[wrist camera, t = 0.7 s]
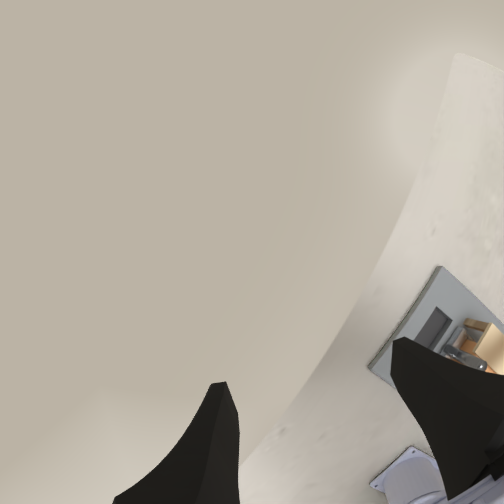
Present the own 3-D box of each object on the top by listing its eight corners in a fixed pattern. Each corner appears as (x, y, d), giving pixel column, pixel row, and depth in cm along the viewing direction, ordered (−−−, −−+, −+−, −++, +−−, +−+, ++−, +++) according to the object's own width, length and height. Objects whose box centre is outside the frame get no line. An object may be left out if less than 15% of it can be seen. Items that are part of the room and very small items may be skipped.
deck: (523, 351, 24) (529, 353, 23) (465, 435, 25) (470, 439, 24) (437, 266, 29) (442, 266, 27) (367, 366, 30) (370, 370, 28)
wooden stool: (495, 344, 25) (520, 352, 19) (454, 403, 25) (474, 421, 19) (466, 317, 26) (492, 322, 20) (423, 380, 27) (442, 398, 21)
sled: (490, 356, 24) (529, 372, 16) (464, 394, 25) (497, 420, 16) (456, 325, 26) (495, 337, 18) (428, 366, 26) (460, 390, 18)
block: (485, 357, 24) (502, 364, 20) (464, 388, 24) (479, 399, 21) (465, 338, 25) (482, 345, 21) (443, 371, 25) (458, 382, 22)
